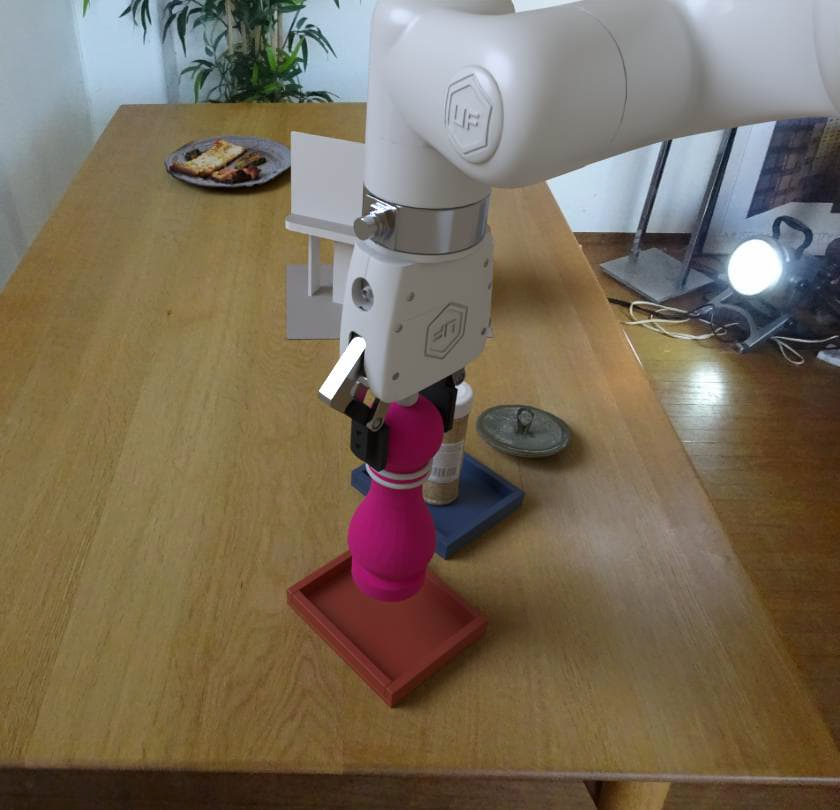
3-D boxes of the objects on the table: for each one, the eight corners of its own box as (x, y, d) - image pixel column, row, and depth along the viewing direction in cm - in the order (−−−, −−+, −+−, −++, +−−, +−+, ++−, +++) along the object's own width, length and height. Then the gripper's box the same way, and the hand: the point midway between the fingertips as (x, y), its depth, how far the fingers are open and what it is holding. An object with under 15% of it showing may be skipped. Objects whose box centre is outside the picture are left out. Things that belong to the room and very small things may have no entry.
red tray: (485, 632, 71) (489, 618, 70) (390, 708, 65) (392, 694, 64) (379, 543, 79) (380, 529, 78) (286, 603, 74) (286, 588, 72)
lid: (503, 487, 88) (519, 461, 84) (455, 420, 93) (468, 391, 89) (577, 462, 91) (596, 435, 88) (528, 398, 97) (543, 370, 93)
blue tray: (522, 506, 83) (525, 492, 82) (445, 560, 78) (447, 546, 76) (426, 440, 92) (428, 426, 90) (350, 484, 86) (351, 470, 85)
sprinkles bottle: (460, 481, 85) (476, 378, 77) (455, 511, 82) (472, 407, 74) (417, 474, 86) (428, 371, 78) (410, 503, 83) (422, 399, 75)
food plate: (243, 206, 142) (242, 187, 140) (141, 180, 152) (139, 161, 150) (315, 161, 159) (315, 143, 157) (219, 140, 169) (218, 123, 167)
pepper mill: (337, 598, 67) (346, 407, 54) (354, 535, 72) (365, 349, 60) (425, 615, 65) (454, 423, 53) (435, 550, 71) (463, 362, 58)
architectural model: (466, 263, 125) (487, 110, 111) (494, 337, 109) (523, 168, 94) (286, 264, 125) (284, 111, 111) (286, 339, 108) (284, 170, 94)
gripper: (360, 281, 42) (348, 523, 53) (563, 195, 51) (517, 419, 62) (272, 231, 47) (278, 464, 58) (472, 161, 55) (444, 375, 66)
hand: (401, 439), depth 59 cm, fingers closed on pepper mill, 6 cm apart
